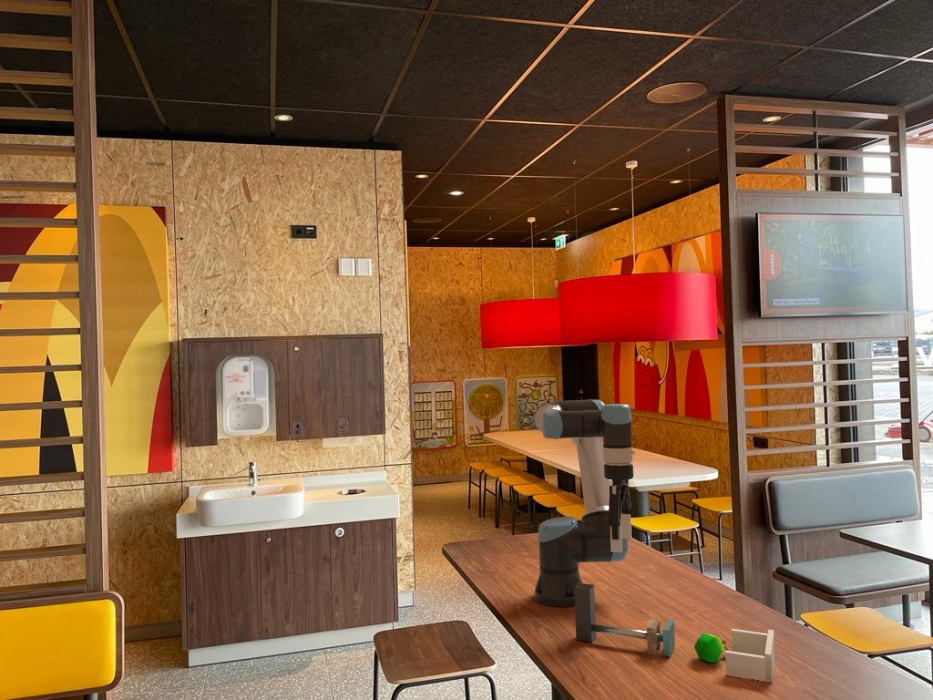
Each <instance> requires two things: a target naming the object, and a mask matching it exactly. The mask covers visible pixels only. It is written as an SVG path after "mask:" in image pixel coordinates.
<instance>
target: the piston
mask: <svg viewBox="0 0 933 700" xmlns="http://www.w3.org/2000/svg"><path fill="white" fill-rule="evenodd" d="M574 595H575V605H574V614H575V616H574V618H575V639H576V641H582V642H588V643H593V641H594V640H595V639H596V637H597V633H601V634H606V635H607V634H608V635H615V636H622V637H626V638H627V637H628V638H635V639H641V640H647V630H646V631H645V630H638V629H631V628H625V627H619V626H618V627H617V626H613V625H605V624H599V623H596V622H597V621H596V619H597V618H596V596H595V584H591V583H584V582H582V583H578V584H577V585H576V586H575V587H574ZM661 632H662V633H661V634H660V633H657V641H659V642H661V643H662V646H663V647H662V649H663V652H662V653H663V656H664V657H668V658H669V657H671V655H672V653H673V650H674V648H675V647H676V643H675V642H676V640H675V639H676V637H675V636H676V635H675V620H674V619H667V621H666V622H665V624H664V626H663V628H662V631H661Z"/></svg>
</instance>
